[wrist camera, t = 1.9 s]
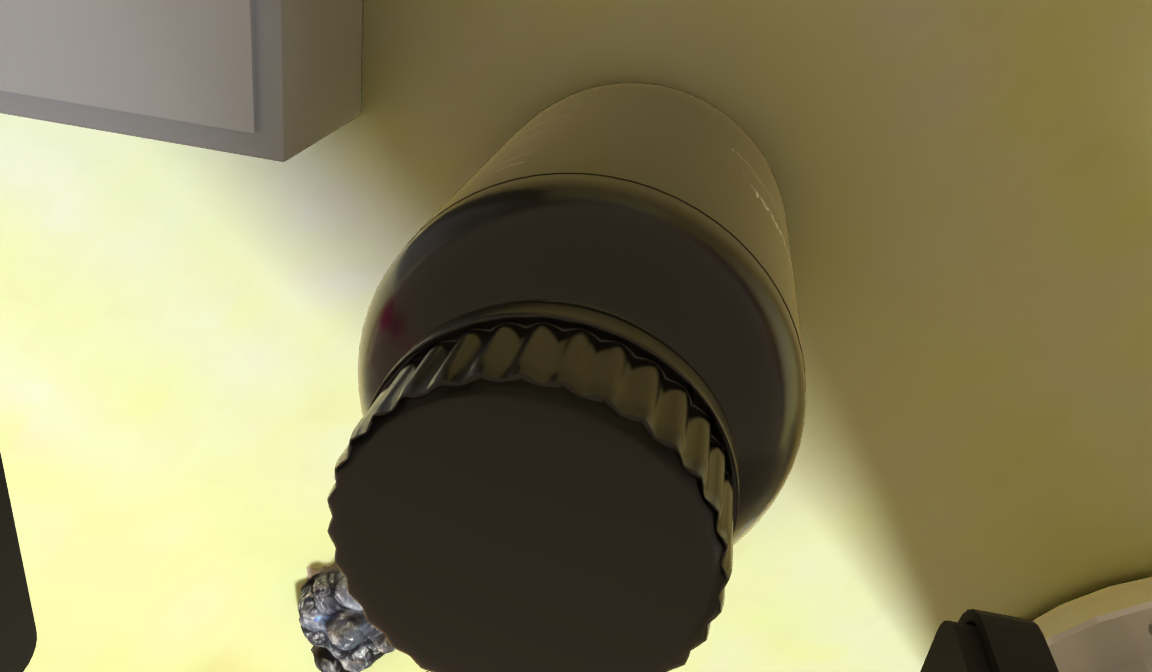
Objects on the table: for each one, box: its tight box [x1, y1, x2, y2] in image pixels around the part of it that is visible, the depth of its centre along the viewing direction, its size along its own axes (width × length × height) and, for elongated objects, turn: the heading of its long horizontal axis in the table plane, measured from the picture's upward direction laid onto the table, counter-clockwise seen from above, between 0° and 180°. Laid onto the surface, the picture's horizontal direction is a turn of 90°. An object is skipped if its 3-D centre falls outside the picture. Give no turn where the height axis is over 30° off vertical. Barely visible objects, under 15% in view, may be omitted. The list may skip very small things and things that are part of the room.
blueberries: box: [298, 564, 395, 672], centre depth 28 cm, size 7×8×2 cm
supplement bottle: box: [327, 83, 806, 672], centre depth 16 cm, size 7×7×12 cm
